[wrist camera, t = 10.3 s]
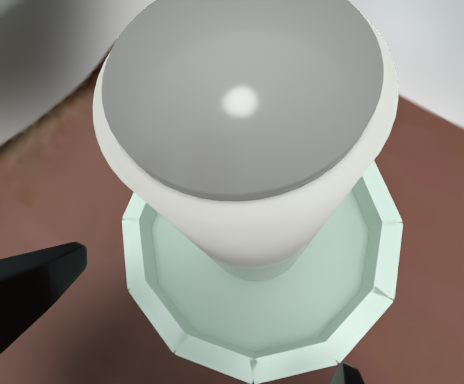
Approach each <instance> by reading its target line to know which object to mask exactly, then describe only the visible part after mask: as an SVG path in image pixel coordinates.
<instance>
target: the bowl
mask: <svg viewBox="0 0 464 384" xmlns="http://www.w3.org/2000/svg"><path fill="white" fill-rule="evenodd" d="M123 219H124V220H122V228H123V241H124V253H125V265H126V277H127V289H130V290H129V293H130V294H131V296H132V297H133V298H134V300H135V301H136V303H137V304H138V305H139V307H140V308H141V309H142V311H143V312H144V314H145V315H146V316H147V318H148V319H149V321H150V322H151V323H152V325H153V326H154V328H155V329H156V330H157V332H158V333H159V334H160V336H161V337H162V339H163V340H164V341H165V343H166V344H167V346H168V347H169V348H170V350H171V351H172V353H174V352H175V351H176V352H175V355H177V356H180V357H183V358H185V359H188V360H190V361H193V362H196V363H198V364H201V365H203V366H206V367H208V368H211V369H214V370H216V371H219V372H221V373H224V374H226V375H229V376H232V377H234V378H237V379H239V380H242V381H245V382H247V383H250V384H252V382H253V380H254V384H259V383H263V382H267V381H272V380H276V379H280V378H284V377H288V376H292V375H297V374H301V373H305V372H309V371H313V370H317V369H322V368H326V367H330V366H334V365H337V362H338V363H340V362H341V361H342V360H343V359H344V358H345V357H346V355H347V354H348V353H349V352H350V351H351V350H352V349H353V347H354V346H355V345H356V344H357V343H358V342H359V341H360V339H361V338H362V337H363V336H364V335H365V334H366V332H367V331H368V330H369V329H370V328H371V327H372V326H373V324H374V323H375V322H376V321H377V320H378V319H379V318H380V316H381V315H382V314H383V313H384V312H385V311H386V309H387V308H388V307H389V306H390V305H391V304H392V303H393V301H392V300H391V299H394V298H395V290H396V281H397V272H398V263H399V255H400V246H401V237H402V228H403V224H402V223H401V222H403V221H402V219H401V217H400V215H399V213H398V211H397V208H396V206H395V204H394V202H393V200H392V198H391V196H390V193H389V191H388V189H387V187H386V185H385V183H384V181H383V178H382V176H381V174H380V172H379V170H378V168H377V166H376V164H375V161H373V162H372V163H371V164H370V166H369V167H368V168H367V170H366V171H365V172H364V174H363V175H362V176H361V177H360V179H359V180H358V181H357V183H356V184H355V185H354V186H353V188H352V189H351V190H350V192H349V193H348V194H347V196H346V197H345V198H344V199H343V201H342V202H341V203H340V205H339V206H338V207H337V208H336V210H335V211H334V212H333V214H332V215H331V216H330V217H329V219H328V220H327V221H326V223H325V224H324V225H323V227H322V228H321V229H320V230H319V232H318V233H317V234H316V236H315V237H314V238H313V239H312V241H311V242H310V243H309V245H308V246H307V247H306V249H305V250H304V251H303V252H302V254H301V255H300V256H299V258H298V259H297V260H296V261H295V263H294V264H293V265H292V266H291V267H290V268H289V269H288V270H287V271H286V272H284V273H283V274H281V275H279V276H277V277H275V278H273V279H270V280H265V281H247V280H243V279H240V278H237V277H235V276H233V275H231V274H229V273H228V272H226V271H225V270H224V269H223V268H222V267H220V266H219V265H218V264H217V263H216V262H215V261H213V260H212V259H211V258H210V257H209V256H208V255H207V254H205V253H204V252H203V251H202V250H201V249H200V248H198V247H197V246H196V245H195V244H194V243H193V242H191V241H190V240H189V239H188V238H187V237H186V236H184V235H183V234H182V233H181V232H180V231H179V230H178V229H176V228H175V227H174V226H173V225H172V224H171V223H169V222H168V221H167V220H166V219H165V218H164V217H162V216H161V215H160V214H159V213H158V212H157V211H155V210H154V209H153V208H152V207H151V206H150V205H149V204H147V203H146V202H145V201H144V200H143V199H142V198H140V197H139V196H138V195H137V194H136V193H135V192H134V193H133V195H132V198H131V200H130V202H129V204H128V206H127V209H126V211H125V213H124V215H123ZM336 361H337V362H336Z"/></svg>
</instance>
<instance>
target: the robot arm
mask: <svg viewBox="0 0 464 384" xmlns="http://www.w3.org/2000/svg"><path fill="white" fill-rule="evenodd" d="M86 265H87V248H86V246H85V245H82V244H80V243H78V242H72V243H67V244H63V245H59V246H55V247H50V248H46V249H42V250H38V251H33V252H29V253H25V254H21V255H17V256H12V257H8V258H4V259H0V354H1V353H2V352H3V351H4V350H5V349H6V348H7V347H9V346H10V345H11V344H12V343H13V342H14V341H15V340H16V339H17V338H18V337H19V336H20V335H21V334H22V333H24V332H25V331H26V330H27V329H28V328H29V327H30V326H31V325H32V324H33V323H34V322H35V321H36V320H37V319H38V318H40V317H41V316H42V315H43V314H44V313H45V312H46V311H47V310H48V309H49V308H50V307H51V306H52V305H53V304H54V303H55V302H56V301H57V300H58V299H59V298H60V297H61V295H62V294H63V293H64V292H65V291H66V290H67V289H68V288H69V286H70V285H71V284H72V283H73V282H74V281H75V280H76V279H77V278H78V276H79V275H80V274H81V273H82V272H83V271H84V269H85V268H86ZM330 384H365V383H364V381H363V379H362V377H361V375H360V373H359V371H358V369H357V368H356V367H354V366H351V365H349V364H347V363H345V362H343V363H341V364H340V366H339V367H338V369H337V371H336V373H335V374H334V376H333V378H332V380H331V383H330Z"/></svg>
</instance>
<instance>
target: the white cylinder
mask: <svg viewBox="0 0 464 384" xmlns="http://www.w3.org/2000/svg"><path fill="white" fill-rule="evenodd" d="M397 104H398V79H397V74H396V68H395V64H394V62H393V59H392V56H391V54H390V51H389V49H388V47H387V45H386V44H385V42H384V40H383V38H382V36H381V35H380V34H379V33H378V31H377V30H376V29H375V28H374V26H373V25H372V24H371V23H370V22H369V21H368V20H367V19H366V18H365V17H364V16H363V15H362V14H361V13H360V12H359V11H358V10H357V9H356V8H355V7H354V6H353V5H352V4H351V3H350V2H349V1H347V0H156V1H154V2H153V3H152V4H150V5H149V6H147V7H146V8H145V9H144V10H143V11H141V12H140V13H139V14H138V15H137V16H136V17H135V18H134V19H133V20H132V21H131V22H130V23H129V24H128V25H127V27H126V28H125V29H124V31H123V32H122V33H121V35H120V36H119V38H118V39H117V41H116V43H115V44H114V46H113V48H112V50H111V52H110V53H109V55H108V57H107V58H106V60H105V62H104V64H103V67H102V69H101V71H100V74H99V76H98V80H97V84H96V87H95V91H94V100H93V123H94V128H95V133H96V137H97V140H98V143H99V145H100V148H101V151H102V153H103V155H104V157H105V158H106V160H107V162H108V164H109V165H110V167H111V168H112V170H113V171H114V172H115V173H116V174H117V176H118V177H119V178H120V179H121V181H122V182H123V183H125V184H126V185H127V186H128V187H129V188H130V189H131V190H132V191H134V192H135V193H136V194H137V195H138V196H139V197H140V198H142V199H143V200H144V201H145V202H146V203H147V204H149V205H150V206H151V207H152V208H153V209H154V210H155V211H157V212H158V213H159V214H160V215H161V216H162V217H164V218H165V219H166V220H167V221H168V222H169V223H171V224H172V225H173V226H174V227H175V228H176V229H178V230H179V231H180V232H181V233H182V234H183V235H184V236H186V237H187V238H188V239H189V240H190V241H191V242H193V243H194V244H195V245H196V246H197V247H198V248H200V249H201V250H202V251H203V252H204V253H205V254H207V255H208V256H209V257H210V258H211V259H212V260H213V261H215V262H216V263H217V264H218V265H219V266H220V267H222V268H223V269H224V270H225V271H226V272H228V273H229V274H231V275H233V276H235V277H237V278H240V279H243V280H247V281H265V280H270V279H273V278H275V277H277V276H279V275H281V274H283V273H284V272H286V271H287V270H288V269H289V268H290V267H291V266H292V265H293V264H294V263H295V261H296V260H297V259H298V258H299V256H300V255H301V254H302V252H303V251H304V250H305V249H306V247H307V246H308V245H309V243H310V242H311V241H312V239H313V238H314V237H315V236H316V234H317V233H318V232H319V230H320V229H321V228H322V227H323V225H324V224H325V223H326V221H327V220H328V219H329V217H330V216H331V215H332V214H333V212H334V211H335V210H336V208H337V207H338V206H339V205H340V203H341V202H342V201H343V199H344V198H345V197H346V196H347V194H348V193H349V192H350V190H351V189H352V188H353V186H354V185H355V184H356V183H357V181H358V180H359V179H360V177H361V176H362V175H363V174H364V172H365V171H366V170H367V168H368V167H369V166H370V164H371V163H372V162H373V161H374V159H375V158H376V157H377V155H378V154H379V153H380V151H381V149H382V147H383V146H384V144H385V142H386V140H387V138H388V136H389V134H390V131H391V128H392V126H393V123H394V120H395V117H396V110H397Z"/></svg>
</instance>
